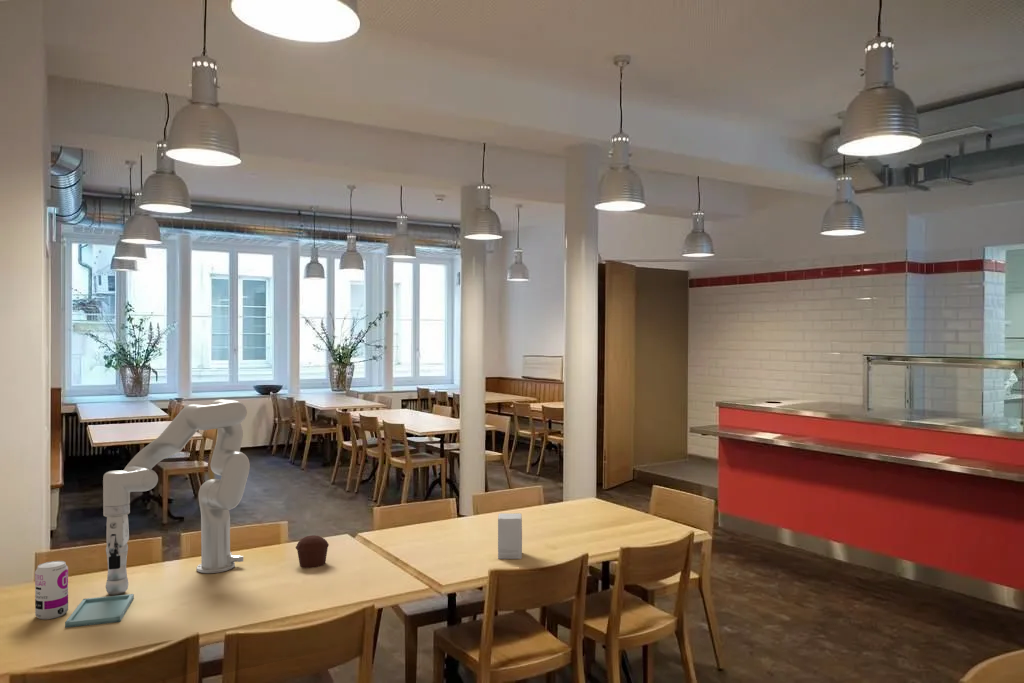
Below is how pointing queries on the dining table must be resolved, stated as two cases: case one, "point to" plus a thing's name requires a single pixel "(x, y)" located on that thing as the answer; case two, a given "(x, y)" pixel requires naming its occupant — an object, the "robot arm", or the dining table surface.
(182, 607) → the dining table surface
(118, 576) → the plastic bottle
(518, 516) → the supplement box
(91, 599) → the tray
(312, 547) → the muffin
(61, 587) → the supplement can
